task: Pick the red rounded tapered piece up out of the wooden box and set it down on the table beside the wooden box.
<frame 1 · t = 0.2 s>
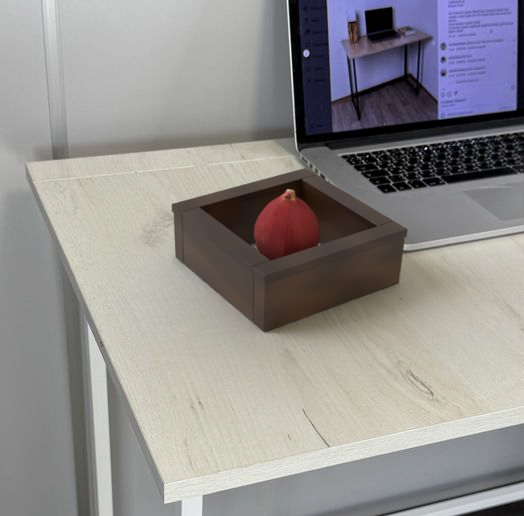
red rounded tapered piece: (285, 271, 80), resting in wooden box
wooden box: (285, 269, 80), on the table
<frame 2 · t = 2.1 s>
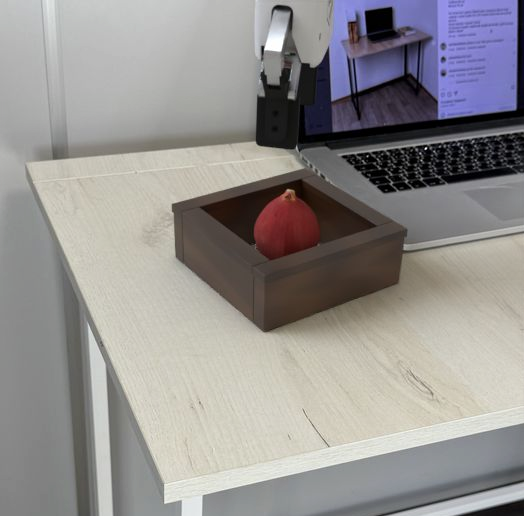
hand: (287, 123, 72), 14 cm above the table, tool pointing down, fingers open, 9 cm apart
nothing on the table moved.
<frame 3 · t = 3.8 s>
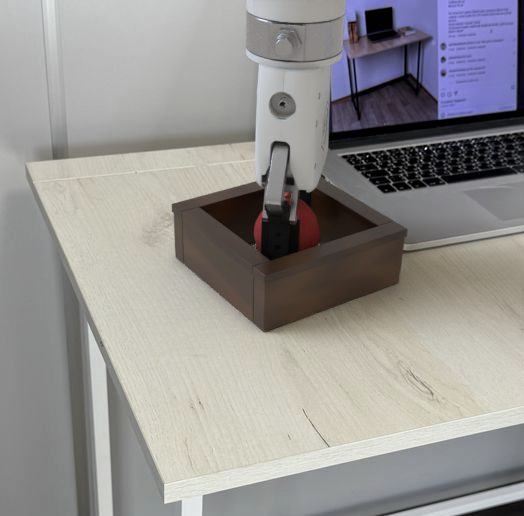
hand: (286, 240, 78), 3 cm above the table, tool pointing down, fingers closed on red rounded tapered piece, 6 cm apart
red rounded tapered piece: (285, 271, 80), resting in wooden box, touching gripper
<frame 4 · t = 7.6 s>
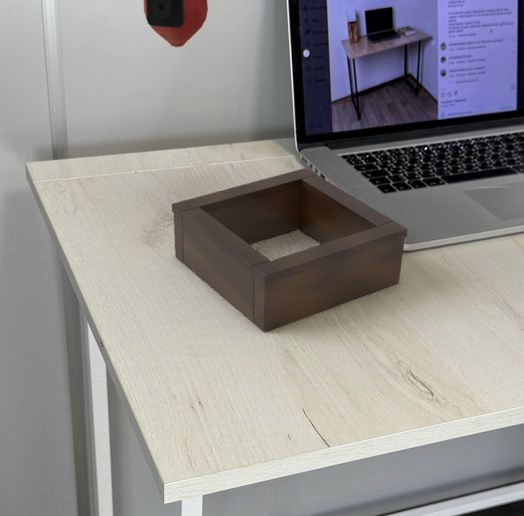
hand: (175, 13, 80), 19 cm above the table, tool pointing down, fingers closed on red rounded tapered piece, 6 cm apart
red rounded tapered piece: (177, 48, 82), point 16 cm above the table, touching gripper
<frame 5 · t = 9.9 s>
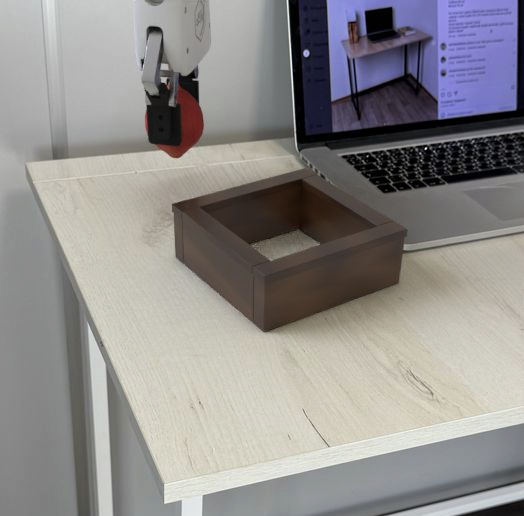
hand: (174, 129, 87), 7 cm above the table, tool pointing down, fingers closed on red rounded tapered piece, 6 cm apart
red rounded tapered piece: (175, 159, 89), point 4 cm above the table, touching gripper
when the fingers open (3 cm above the table, at t = 11.5 s): red rounded tapered piece stays where it is, on the table.
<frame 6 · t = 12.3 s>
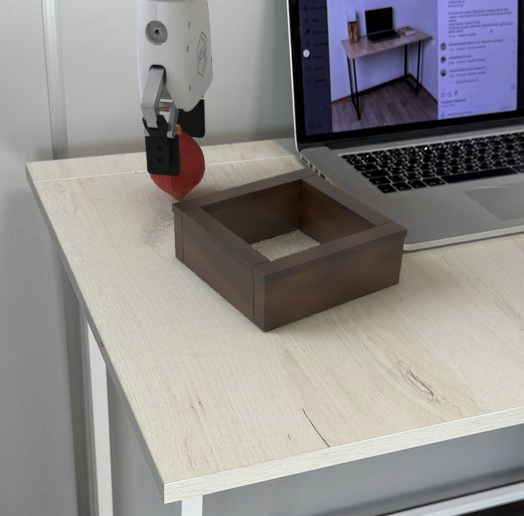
hand: (177, 154, 89), 5 cm above the table, tool pointing down, fingers open, 9 cm apart
red rounded tapered piece: (177, 199, 92), on the table
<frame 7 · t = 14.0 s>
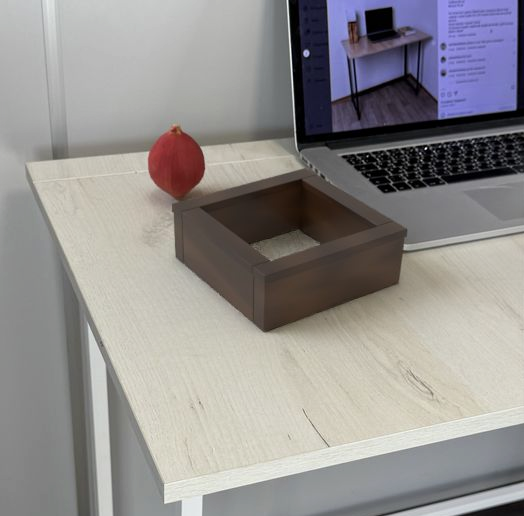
nothing on the table moved.
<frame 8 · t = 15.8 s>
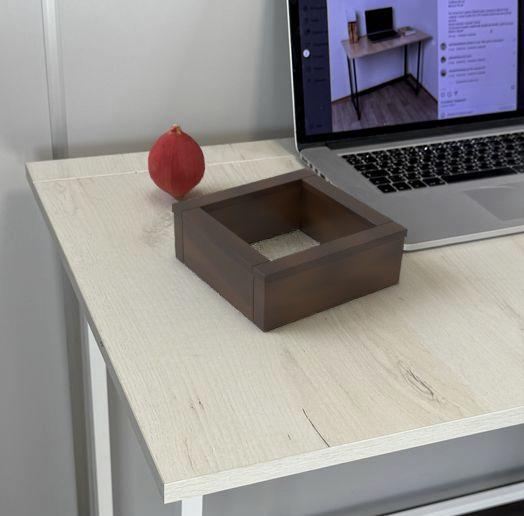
nothing on the table moved.
at the end: red rounded tapered piece inside the target area (0.0 cm from its centre), on the table; the gripper is holding nothing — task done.
